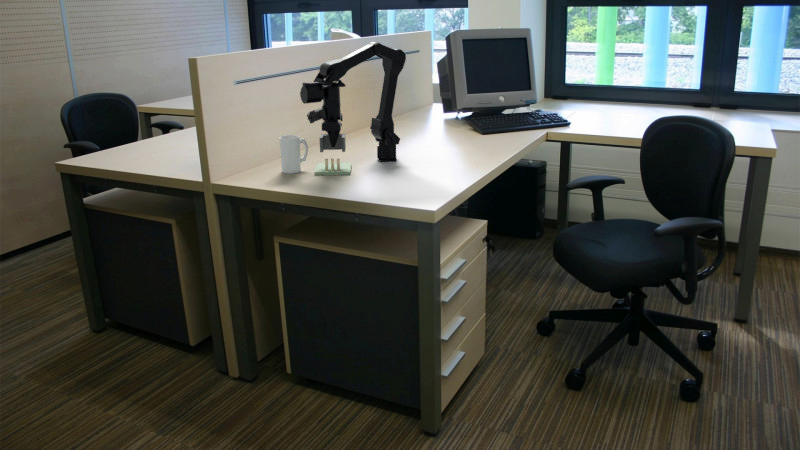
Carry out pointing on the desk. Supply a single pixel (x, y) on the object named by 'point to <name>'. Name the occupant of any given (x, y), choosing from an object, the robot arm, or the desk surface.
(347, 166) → the board
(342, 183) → the desk surface
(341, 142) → the grey c-shaped bracket
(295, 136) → the mug
